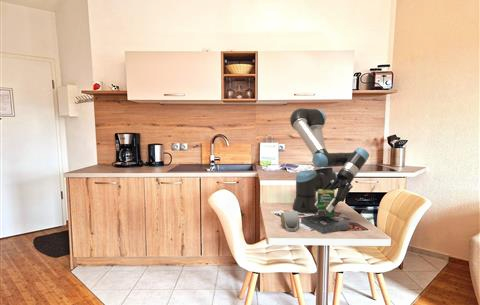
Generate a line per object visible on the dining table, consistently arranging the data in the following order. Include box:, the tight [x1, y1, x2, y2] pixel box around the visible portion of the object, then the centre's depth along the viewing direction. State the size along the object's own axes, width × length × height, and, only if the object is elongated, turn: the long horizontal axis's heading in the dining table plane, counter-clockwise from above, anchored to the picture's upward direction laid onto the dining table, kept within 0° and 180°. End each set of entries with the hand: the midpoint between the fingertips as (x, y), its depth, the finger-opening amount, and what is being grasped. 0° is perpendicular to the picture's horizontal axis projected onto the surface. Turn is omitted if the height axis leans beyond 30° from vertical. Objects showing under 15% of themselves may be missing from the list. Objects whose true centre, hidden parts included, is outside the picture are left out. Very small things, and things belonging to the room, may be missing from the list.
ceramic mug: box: [280, 210, 300, 232], centre depth 124 cm, size 11×8×8 cm
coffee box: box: [317, 189, 336, 217], centre depth 125 cm, size 8×3×13 cm, turn 66°
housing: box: [300, 214, 350, 235], centre depth 127 cm, size 16×16×3 cm
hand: (322, 208), depth 124 cm, fingers closed on coffee box, 7 cm apart
